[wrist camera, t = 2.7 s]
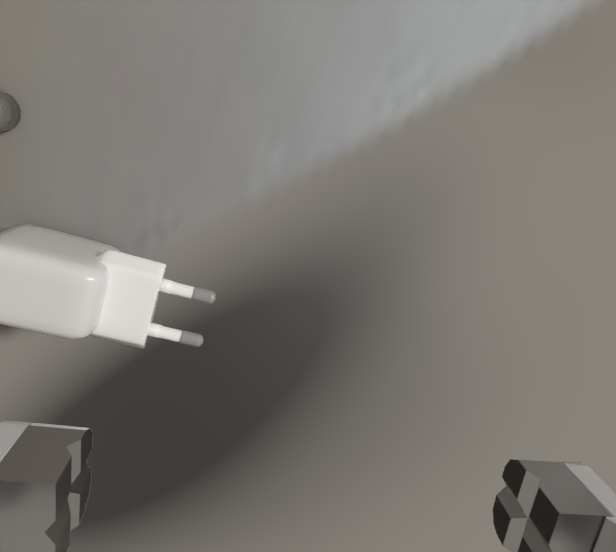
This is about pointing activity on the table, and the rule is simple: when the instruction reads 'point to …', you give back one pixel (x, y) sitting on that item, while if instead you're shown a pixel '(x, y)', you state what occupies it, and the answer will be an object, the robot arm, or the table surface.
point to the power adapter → (84, 288)
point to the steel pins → (8, 112)
